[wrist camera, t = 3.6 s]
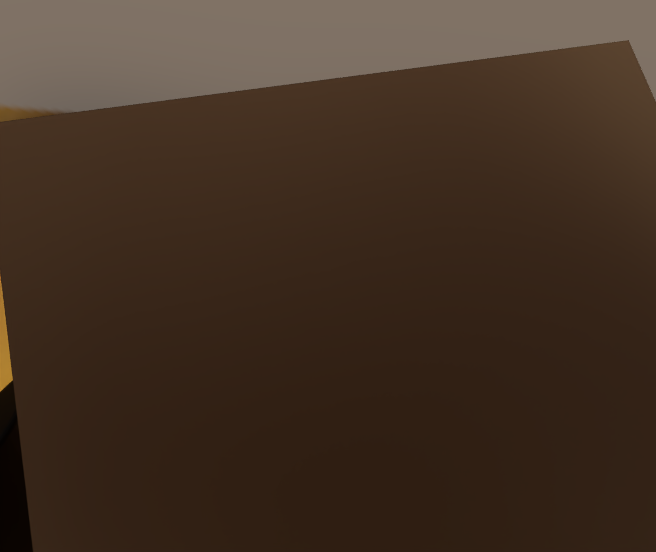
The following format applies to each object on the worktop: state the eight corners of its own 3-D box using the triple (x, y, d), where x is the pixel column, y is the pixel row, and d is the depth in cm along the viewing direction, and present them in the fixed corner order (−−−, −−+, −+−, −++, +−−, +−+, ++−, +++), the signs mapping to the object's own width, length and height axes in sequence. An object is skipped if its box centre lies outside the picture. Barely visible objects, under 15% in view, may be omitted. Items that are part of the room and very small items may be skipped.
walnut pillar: (385, 461, 16) (921, 699, 3) (229, 509, 15) (101, 1144, 2) (345, 311, 17) (628, 40, 4) (196, 346, 16) (-16, 123, 3)
